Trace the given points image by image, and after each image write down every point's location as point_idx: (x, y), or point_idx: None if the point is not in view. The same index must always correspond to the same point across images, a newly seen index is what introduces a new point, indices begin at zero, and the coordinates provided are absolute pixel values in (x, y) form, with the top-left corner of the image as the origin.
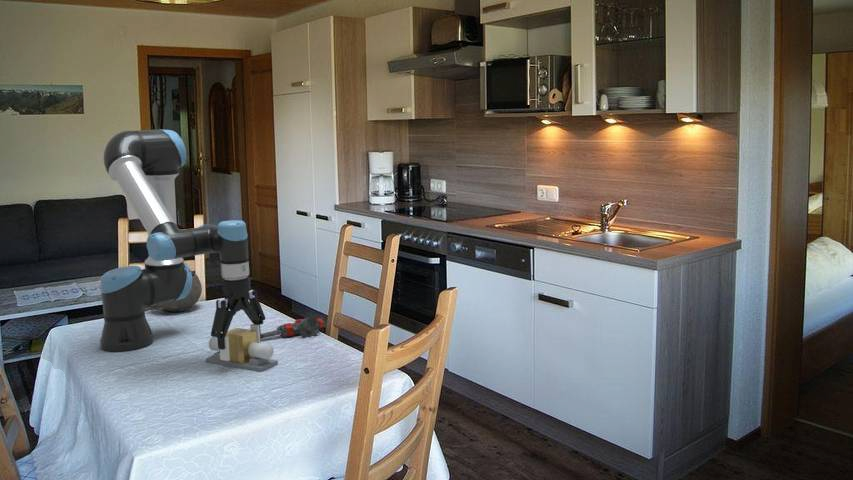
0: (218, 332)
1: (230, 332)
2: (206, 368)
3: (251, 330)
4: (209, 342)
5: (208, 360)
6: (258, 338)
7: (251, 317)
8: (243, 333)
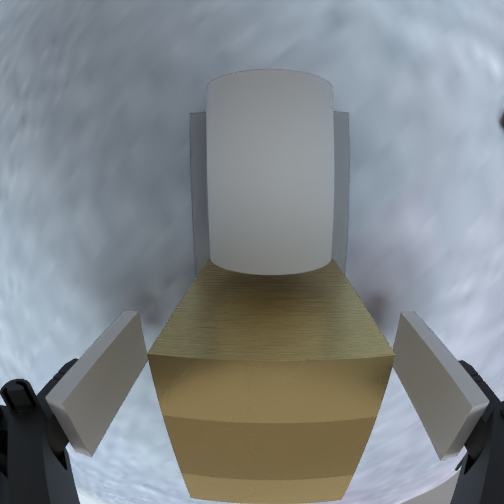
0: (1, 462)
1: (204, 410)
2: (123, 205)
3: (337, 485)
4: (208, 91)
5: (191, 136)
6: (410, 395)
7: (464, 499)
8: (240, 488)
